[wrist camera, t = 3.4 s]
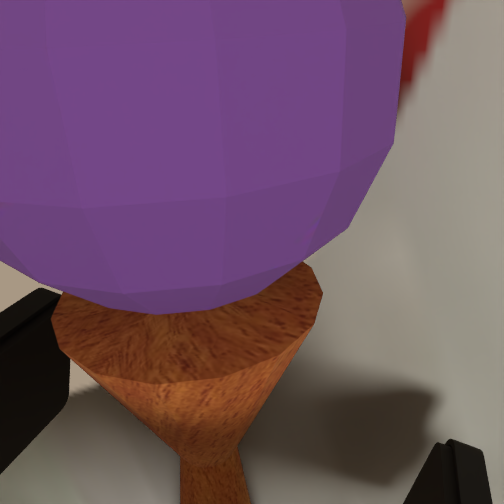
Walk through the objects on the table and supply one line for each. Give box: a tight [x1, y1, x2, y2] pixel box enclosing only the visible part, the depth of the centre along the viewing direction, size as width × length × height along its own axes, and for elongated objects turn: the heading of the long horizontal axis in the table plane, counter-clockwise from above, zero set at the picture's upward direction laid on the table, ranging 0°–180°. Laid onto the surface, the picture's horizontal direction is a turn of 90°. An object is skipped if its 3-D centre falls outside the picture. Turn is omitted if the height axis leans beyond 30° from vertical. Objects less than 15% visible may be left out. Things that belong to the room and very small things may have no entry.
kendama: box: [0, 0, 406, 504], centre depth 9 cm, size 6×6×20 cm
